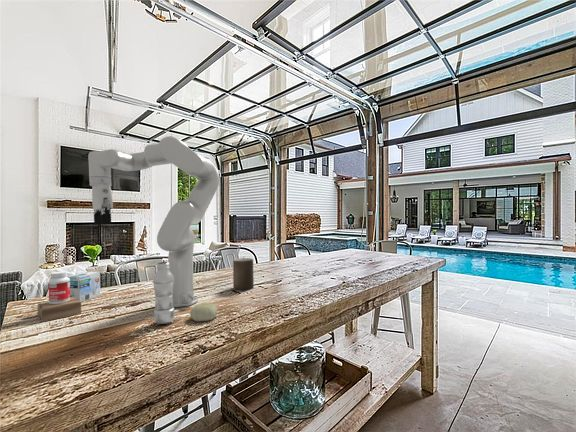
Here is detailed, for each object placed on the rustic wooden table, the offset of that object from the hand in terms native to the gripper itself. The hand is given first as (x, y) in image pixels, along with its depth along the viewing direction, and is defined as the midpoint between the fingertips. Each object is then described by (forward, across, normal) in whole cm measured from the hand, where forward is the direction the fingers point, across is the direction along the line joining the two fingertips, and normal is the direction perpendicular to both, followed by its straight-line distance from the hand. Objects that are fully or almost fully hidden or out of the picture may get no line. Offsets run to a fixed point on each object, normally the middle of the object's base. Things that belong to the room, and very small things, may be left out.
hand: (102, 223), depth 119 cm
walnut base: (+32, -2, +16) cm, 36 cm away
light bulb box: (+32, +14, +4) cm, 35 cm away
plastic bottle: (+33, -41, -5) cm, 53 cm away
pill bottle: (+28, -2, +16) cm, 32 cm away
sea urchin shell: (+34, -47, -16) cm, 60 cm away
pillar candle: (+34, -27, -50) cm, 66 cm away
